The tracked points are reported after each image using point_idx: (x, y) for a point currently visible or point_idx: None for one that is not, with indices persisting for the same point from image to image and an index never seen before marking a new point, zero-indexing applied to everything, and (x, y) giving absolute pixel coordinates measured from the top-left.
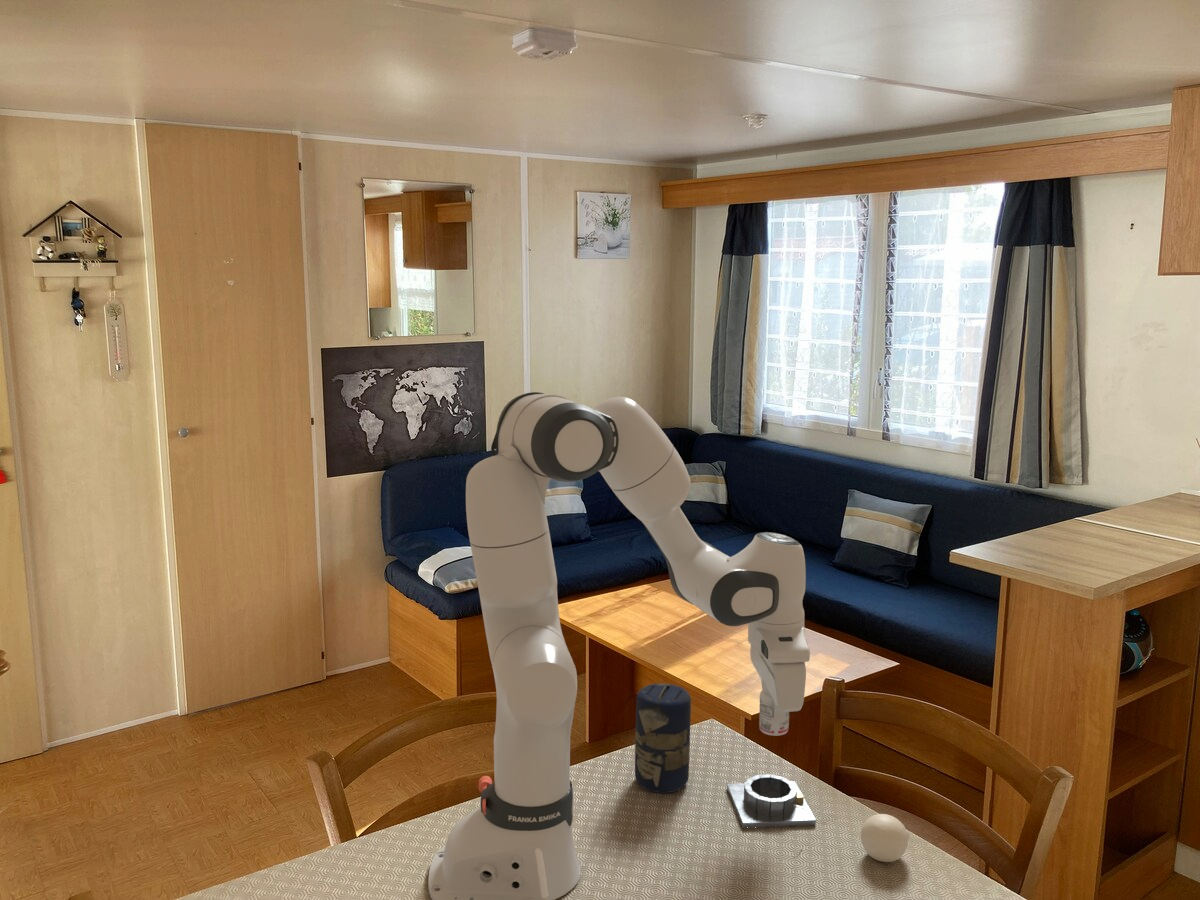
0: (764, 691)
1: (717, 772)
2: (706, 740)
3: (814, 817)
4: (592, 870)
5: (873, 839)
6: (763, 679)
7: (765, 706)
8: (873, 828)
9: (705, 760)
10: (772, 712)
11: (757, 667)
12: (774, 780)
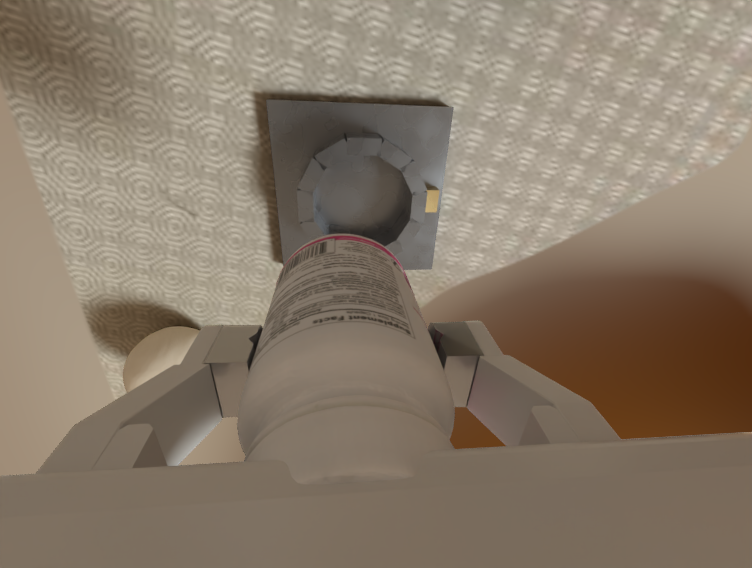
0: (310, 406)
1: (529, 101)
2: (679, 113)
3: None
4: None
5: (132, 355)
6: (370, 511)
7: (277, 328)
8: (138, 369)
9: (594, 82)
10: (246, 344)
11: (686, 507)
12: (403, 225)
